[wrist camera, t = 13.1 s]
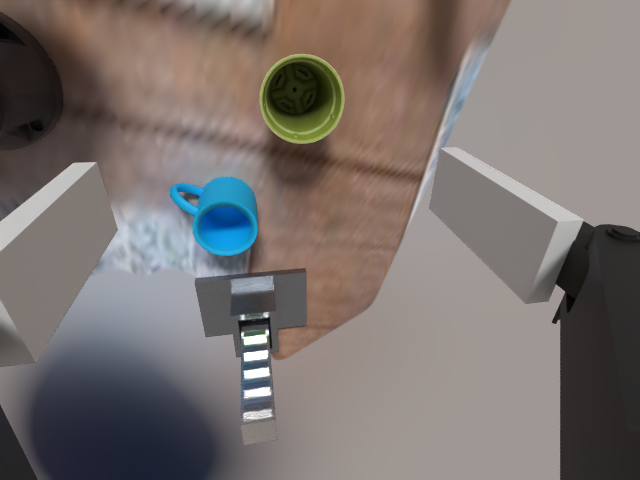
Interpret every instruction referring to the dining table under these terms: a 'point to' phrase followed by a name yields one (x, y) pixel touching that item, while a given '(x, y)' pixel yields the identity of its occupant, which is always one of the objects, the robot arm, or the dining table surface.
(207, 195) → the mug
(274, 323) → the stand
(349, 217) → the dining table surface
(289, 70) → the plant pot
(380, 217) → the dining table surface
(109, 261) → the dining table surface
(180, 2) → the dining table surface
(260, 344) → the column
